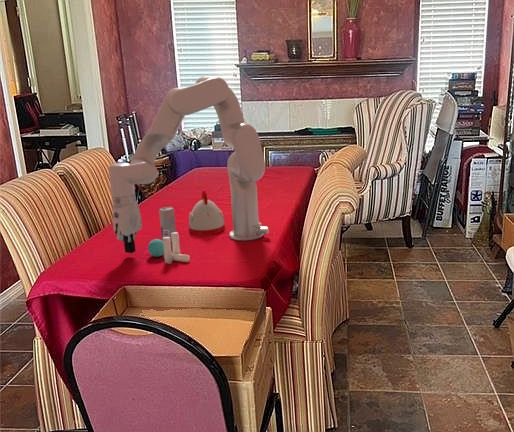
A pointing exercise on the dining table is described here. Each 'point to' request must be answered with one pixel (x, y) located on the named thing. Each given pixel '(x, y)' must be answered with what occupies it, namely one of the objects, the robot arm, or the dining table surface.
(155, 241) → the ball
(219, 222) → the kitchen timer
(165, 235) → the energy drink
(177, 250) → the pin
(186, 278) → the dining table surface
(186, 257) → the front pin
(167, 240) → the pin
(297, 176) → the dining table surface
